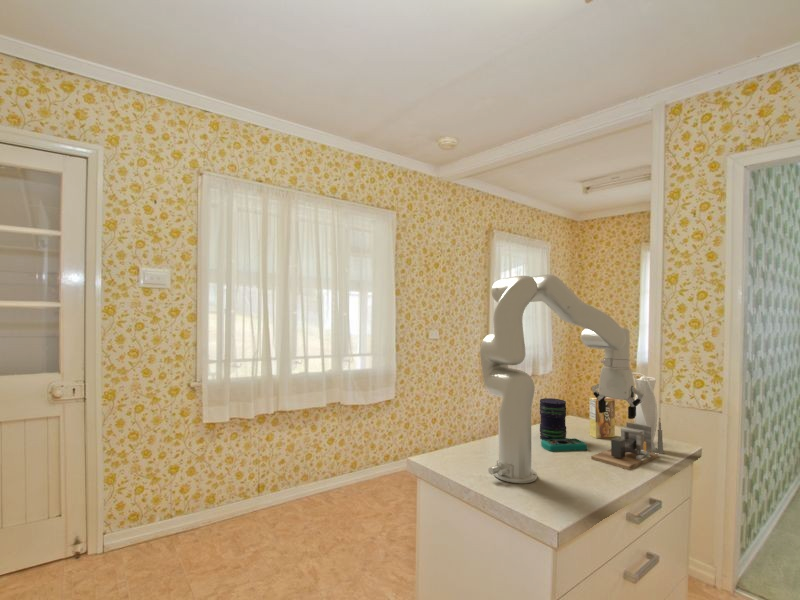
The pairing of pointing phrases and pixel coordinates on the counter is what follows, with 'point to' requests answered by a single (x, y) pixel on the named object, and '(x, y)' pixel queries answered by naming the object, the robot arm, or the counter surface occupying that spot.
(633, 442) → the plunger
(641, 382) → the skyscraper
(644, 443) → the needle
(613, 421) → the candy box
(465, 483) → the counter surface
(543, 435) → the storage jar
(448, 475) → the counter surface
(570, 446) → the digital multimeter
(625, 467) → the base
